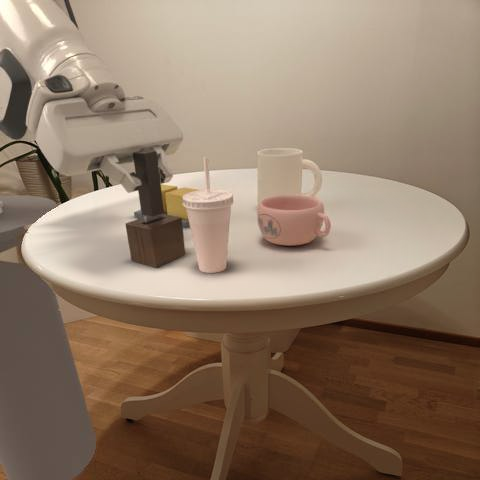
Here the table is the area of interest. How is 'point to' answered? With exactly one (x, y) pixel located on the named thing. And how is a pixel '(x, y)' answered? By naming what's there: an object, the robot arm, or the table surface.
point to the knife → (149, 185)
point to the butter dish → (184, 221)
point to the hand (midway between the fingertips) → (152, 184)
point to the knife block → (156, 240)
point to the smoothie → (209, 224)
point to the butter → (175, 200)
